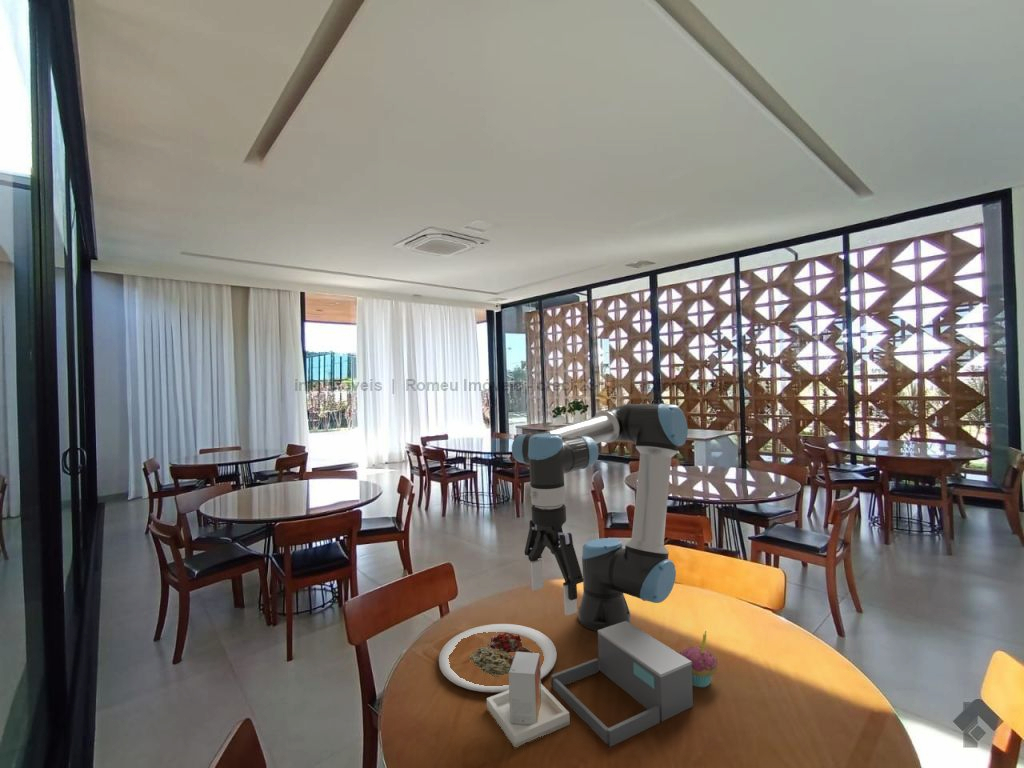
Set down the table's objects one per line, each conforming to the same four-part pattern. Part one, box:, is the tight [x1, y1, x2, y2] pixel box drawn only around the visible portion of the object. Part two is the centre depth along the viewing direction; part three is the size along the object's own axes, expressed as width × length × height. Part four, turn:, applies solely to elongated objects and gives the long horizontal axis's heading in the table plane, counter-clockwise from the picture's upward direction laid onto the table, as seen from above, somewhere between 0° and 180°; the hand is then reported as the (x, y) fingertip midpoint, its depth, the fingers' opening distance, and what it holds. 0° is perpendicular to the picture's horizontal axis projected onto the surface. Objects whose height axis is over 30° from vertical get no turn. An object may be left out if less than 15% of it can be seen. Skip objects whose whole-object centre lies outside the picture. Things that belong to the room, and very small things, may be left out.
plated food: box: [438, 623, 557, 693], centre depth 121 cm, size 30×30×3 cm
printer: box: [550, 621, 694, 748], centre depth 105 cm, size 21×23×10 cm
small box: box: [509, 652, 542, 725], centre depth 100 cm, size 8×6×10 cm
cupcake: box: [678, 630, 718, 688], centre depth 109 cm, size 9×8×12 cm
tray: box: [486, 683, 571, 748], centre depth 99 cm, size 13×13×2 cm
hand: (553, 600), depth 104 cm, fingers open, 13 cm apart
